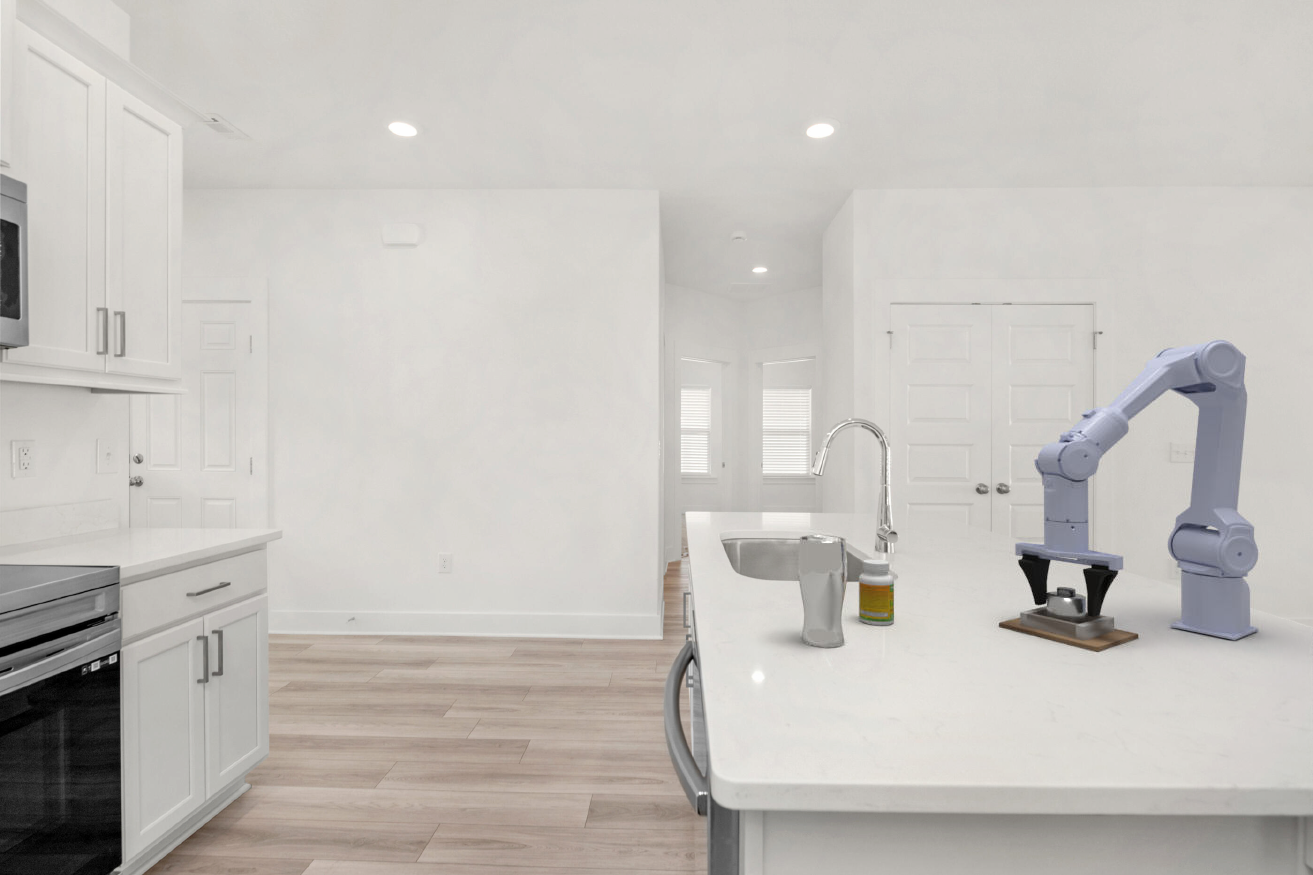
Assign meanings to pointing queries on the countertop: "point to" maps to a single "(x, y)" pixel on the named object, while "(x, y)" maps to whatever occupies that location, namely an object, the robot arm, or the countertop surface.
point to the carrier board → (1070, 630)
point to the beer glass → (822, 588)
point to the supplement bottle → (876, 593)
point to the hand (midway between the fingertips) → (1066, 609)
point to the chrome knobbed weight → (1066, 605)
